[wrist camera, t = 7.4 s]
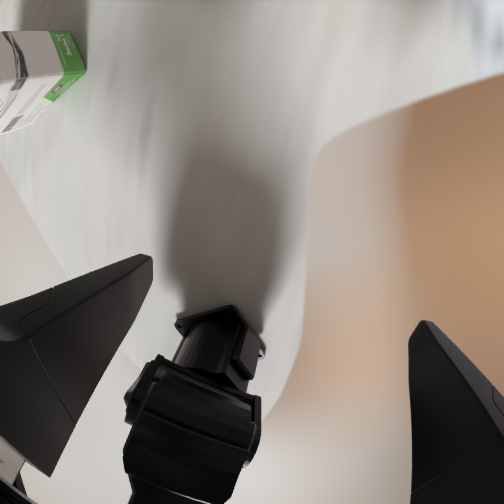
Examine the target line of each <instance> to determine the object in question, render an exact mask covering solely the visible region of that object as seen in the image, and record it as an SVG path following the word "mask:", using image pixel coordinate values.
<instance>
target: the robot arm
mask: <svg viewBox="0 0 504 504" xmlns="http://www.w3.org/2000/svg"><path fill="white" fill-rule="evenodd" d="M152 281H153V260H152V257H151V256H148V255H144V254H138V255H135V256H132V257H129V258H127V259H124V260H121V261H119V262H116V263H113V264H111V265H108V266H105V267H103V268H100V269H98V270H95V271H92V272H90V273H87V274H85V275H82V276H79V277H77V278H74V279H72V280H69V281H67V282H64V283H62V284H59V285H57V286H54V288H49V289H47V290H44V291H42V292H39V293H37V294H34V295H31V296H29V297H26V298H23V299H20V300H17V301H14V302H11V303H8V304H5V305H2V306H0V504H37V503H36V502H34V501H33V500H31V499H30V498H29V497H27V494H26V491H25V488H24V485H23V482H22V478H21V475H20V470H21V468H22V466H23V465H24V462H25V461H26V462H27V463H29V464H30V465H32V466H33V467H34V468H36V469H37V470H39V471H40V472H42V473H43V474H45V475H46V476H48V477H51V475H52V473H53V471H54V469H55V467H56V465H57V462H58V460H59V458H60V456H61V454H62V452H63V450H64V448H65V446H66V444H67V442H68V440H69V438H70V436H71V434H72V432H73V430H74V428H75V426H76V424H77V422H78V420H79V418H80V416H81V414H82V412H83V410H84V408H85V407H86V405H87V403H88V401H89V399H90V397H91V395H92V394H93V392H94V390H95V388H96V386H97V384H98V383H99V381H100V379H101V377H102V376H103V374H104V372H105V370H106V368H107V367H108V365H109V363H110V361H111V360H112V358H113V356H114V355H115V353H116V351H117V349H118V348H119V346H120V344H121V343H122V341H123V339H124V338H125V336H126V334H127V333H128V331H129V329H130V328H131V326H132V324H133V322H134V321H135V319H136V316H137V314H138V312H139V310H140V308H141V306H142V304H143V301H144V299H145V297H146V295H147V293H148V291H149V289H150V287H151V284H152ZM229 310H230V311H232V312H230V311H229ZM179 324H180V325H179ZM174 325H175V327H176V329H177V330H178V331H179V333H180V334H181V335H182V336H183V339H182V341H181V343H180V345H179V347H178V349H177V351H176V353H175V355H174V357H173V359H172V361H170V360H168V359H165V358H164V356H162V355H160V354H158V355H157V357H156V358H155V360H154V361H153V360H152V361H151V362H147V363H146V364H145V366H144V368H143V370H142V372H141V374H140V376H139V377H138V378H137V380H136V381H135V382H134V383H133V385H132V386H131V387H130V388H129V389H128V391H127V392H126V394H125V396H124V401H125V404H126V406H127V408H126V417H125V422H126V423H128V424H130V425H132V428H131V431H130V433H129V435H128V438H127V440H126V443H125V445H124V448H123V463H124V469H125V473H127V474H128V476H129V481H130V484H131V488H132V494H131V496H130V499H129V502H128V504H224V503H225V502H226V501H227V500H228V499H229V498H230V497H231V496H232V493H233V490H234V487H235V484H236V482H237V479H238V476H239V474H240V471H241V469H242V468H245V467H246V466H248V464H249V463H250V462H251V460H252V459H253V457H254V455H255V453H256V451H257V448H258V445H259V442H260V437H261V397H260V396H257V395H251V394H248V393H246V391H247V387H248V383H249V380H253V378H254V375H255V370H256V366H257V361H258V360H260V359H263V358H264V357H265V351H264V350H263V348H262V347H261V343H260V342H259V340H258V339H257V337H256V335H255V334H254V332H253V331H252V329H251V328H250V326H249V325H247V324H246V322H245V321H244V319H243V318H242V316H241V315H240V313H239V312H238V310H237V308H236V307H235V306H232V305H228V306H224V307H221V308H218V309H214V310H211V311H207V312H204V313H200V314H196V315H193V316H189V317H186V318H182V319H178V320H177V321H176V322H175V324H174ZM408 352H409V353H408V354H409V391H410V392H409V393H410V407H411V428H412V481H411V498H410V504H504V397H503V396H502V395H501V394H500V392H499V391H498V390H497V389H496V388H495V387H494V386H493V385H492V384H491V382H490V381H489V380H488V379H487V378H486V377H485V376H484V375H483V374H482V372H481V371H480V370H479V369H478V368H477V367H476V366H475V365H474V364H473V363H472V362H471V361H470V360H469V359H468V358H467V357H466V355H465V354H464V353H463V352H461V350H460V349H459V348H458V347H457V346H456V345H455V344H454V343H453V342H452V341H451V340H450V339H449V338H448V337H447V336H446V335H445V334H444V333H443V332H442V331H441V330H440V329H439V328H438V327H437V326H436V325H435V324H434V323H433V322H431V321H426V320H421V321H420V322H419V324H418V325H417V327H416V328H415V330H414V331H413V333H412V335H411V336H410V339H409V343H408Z"/></svg>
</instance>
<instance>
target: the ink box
mask: <svg viewBox="0 0 504 504" xmlns="http://www.w3.org/2000/svg"><path fill="white" fill-rule="evenodd" d="M85 72H86V69H85V66H84V64H83V61H82V59H81V56H80V54H79V51H78V48H77V46H76V44H75V41H74V39H73V37H72V35H71V33H70V32H63V31H3V32H0V135H3V134H5V133H8V132H11V131H14V130H17V129H21V128H24V127H27V126H30V125H32V123H33V122H34V121H35V120H36V119H37V118H38V117H39V116H40V115H41V114H42V113H43V112H44V111H45V110H46V109H47V108H48V107H49V106H50V105H51V104H52V103H53V102H54V101H55V100H56V99H57V98H58V97H59V96H60V95H61V94H62V93H63V92H64V91H65V90H66V89H67V88H68V87H69V86H71V85H72V84H73V83H74V82H75V81H76V80H77V79H78V78H79V77H81V76H82V75H83V74H84V73H85Z"/></svg>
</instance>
